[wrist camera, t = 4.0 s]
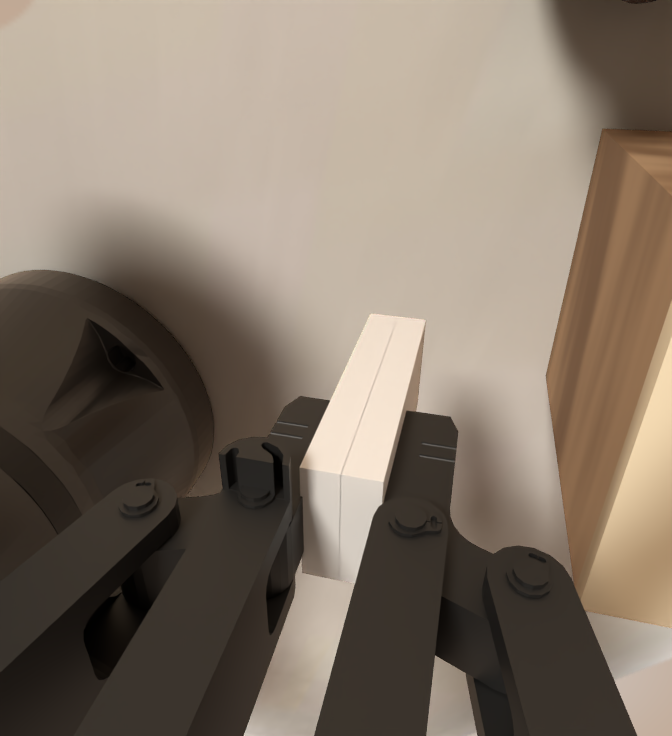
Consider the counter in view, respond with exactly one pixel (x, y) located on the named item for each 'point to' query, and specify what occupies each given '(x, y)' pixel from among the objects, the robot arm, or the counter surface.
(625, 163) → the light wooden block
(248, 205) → the counter surface
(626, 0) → the mate gourd
